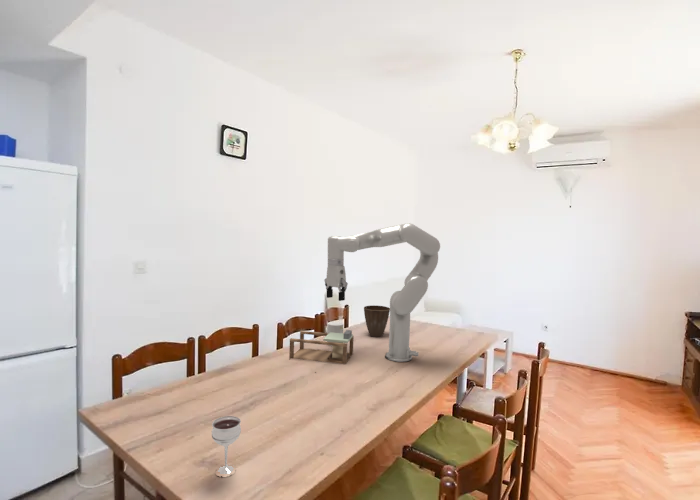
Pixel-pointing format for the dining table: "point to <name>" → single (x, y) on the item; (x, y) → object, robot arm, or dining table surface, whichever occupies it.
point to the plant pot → (376, 319)
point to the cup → (334, 328)
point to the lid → (339, 337)
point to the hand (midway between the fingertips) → (335, 298)
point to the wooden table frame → (319, 354)
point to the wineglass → (226, 436)
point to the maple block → (337, 352)
